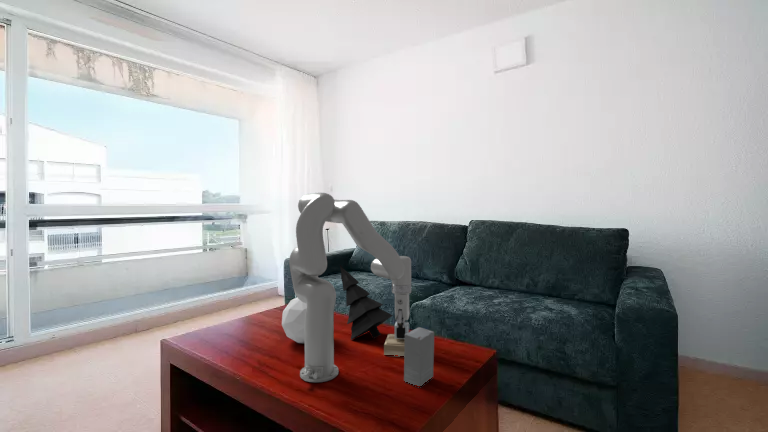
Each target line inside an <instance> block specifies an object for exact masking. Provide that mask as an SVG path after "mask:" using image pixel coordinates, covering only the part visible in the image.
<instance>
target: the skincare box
mask: <svg viewBox="0 0 768 432" xmlns="http://www.w3.org/2000/svg"><path fill="white" fill-rule="evenodd" d="M434 357H435V331H434V330H430V329H426V328H424V327H419V326H418V327H416V328H415V329H412V330H410V331H409V332H408V333H406V334H405V351H404V357H403V358H404V360H403V361H404V363H403V382H404V381H405V382H404V383H406V382H408V383H407V384H409V383H410V384H409V385H411V384H413V385H412V386H414V385H417V386H422V385H423V384H424V383H425V382H427V381H428V380H429V379H431V378H432V377H433V378H434V363H435V361H434V359H435V358H434ZM433 378H432V379H433ZM432 379H431V380H432ZM428 382H429V381H428ZM428 382H427V383H428ZM424 385H425V384H424ZM424 385H423V386H424ZM423 386H422V387H423Z"/></svg>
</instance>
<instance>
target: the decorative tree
mask: <svg viewBox="0 0 768 432" xmlns="http://www.w3.org/2000/svg"><path fill="white" fill-rule="evenodd" d="M339 268H340V279H341V283H342V290H343V292H345V297H346V299H345V300H346V302H345V303H346V307H349V309H348V319H347V323H346V325H349V324H351V329H350V330H351V335H350V341H352V340H355V339H357V338H359V337H361V336H363V335H364V333H365V334H367V333H370V335H371V337H372V339H373V340H374V339H376V338H377V337H379V336H382V335H381V332H380V330H379V329H378V327H379V326H380V325H382V324H383V323H384V322H386V321H387V320H390V318H391V317H393V314H391V313H389V312H387V311H385V310H383V309H382V308H381V307H382V306H383V305H384V304H383V303H381V302H379V301H377V300H375V299H374V298H371V297H369V295H370V292H368V291H367V290H366V289H365V288H363V287H362V286H360V285H358V284H359V283H360V281H358V280H357V279H356V278H355V277H354V276H353V275H352V274H351V273H350V272H348V271H347V270H346V269H345V268H344V266H342V264H339ZM368 331H369V332H368ZM366 332H367V333H366ZM358 336H359V337H358ZM356 337H357V338H356ZM354 338H355V339H354Z"/></svg>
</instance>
